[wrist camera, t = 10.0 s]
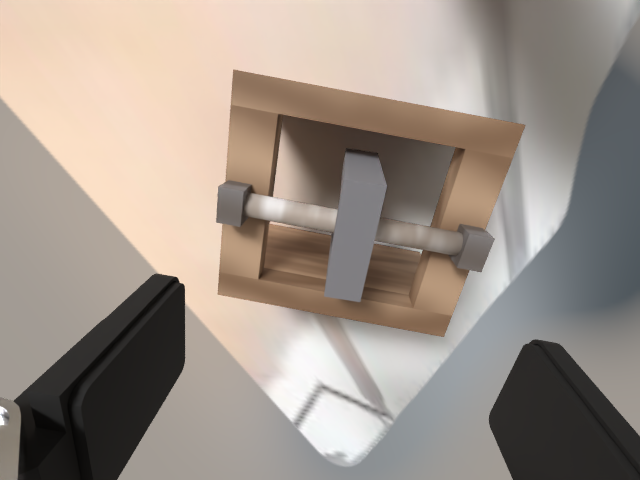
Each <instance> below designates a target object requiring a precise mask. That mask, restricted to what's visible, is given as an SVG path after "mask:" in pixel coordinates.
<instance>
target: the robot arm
mask: <svg viewBox="0 0 640 480" xmlns="http://www.w3.org/2000/svg"><path fill="white" fill-rule="evenodd" d="M184 363H185V286H184V284H182V283H179V280H178V278H177V277H173V276H167V275H162V274H154V275H152V276H151V277H150V278H149V279H148V280H147V281H146V282H145V283H144V284H142V285H141V286H140V287H139V288H138V289H137V290H136V291H135V292H134V293H133V294H132V295H130V296H129V297H128V298H127V299H126V300H125V301H124V302H123V303H122V304H121V305H120V306H118V307H117V308H116V309H115V310H114V311H113V312H112V313H111V314H110V315H109V316H108V317H107V318H105V319H104V320H102V321H101V322H100V323H99V324H98V325H96V326H95V327H94V328H93V329H92V330H91V331H90V332H89V333H88V334H87V335H85V336H84V337H83V338H82V339H81V340H80V341H79V342H78V343H77V344H76V345H74V346H73V347H72V348H71V349H70V350H69V351H68V352H67V353H66V354H65V355H63V356H62V357H61V358H60V359H59V360H58V361H57V362H56V363H55V364H54V365H52V366H51V367H50V368H49V369H48V370H47V371H46V372H45V373H44V374H43V375H42V376H40V377H39V378H38V379H37V380H36V381H35V382H34V383H33V384H32V385H31V386H29V387H28V388H27V389H26V390H25V391H24V392H23V393H22V394H21V395H20V396H19V397H17V398H16V399H15V400H14V401H12V400H8V399H4V398H0V480H117V479H118V477H119V475H120V474H121V472H122V471H123V469H124V467H125V466H126V464H127V462H128V460H129V459H130V457H131V455H132V454H133V452H134V451H135V449H136V447H137V446H138V444H139V442H140V441H141V439H142V437H143V436H144V434H145V432H146V431H147V429H148V427H149V426H150V424H151V422H152V421H153V419H154V417H155V416H156V414H157V412H158V411H159V409H160V407H161V406H162V404H163V402H164V401H165V399H166V397H167V396H168V394H169V392H170V391H171V389H172V387H173V386H174V384H175V382H176V381H177V379H178V377H179V375H180V374H181V372H182V370H183V367H184ZM489 424H490V428H491V430H492V432H493V435H494V437H495V439H496V441H497V444H498V446H499V448H500V451H501V453H502V455H503V458H504V460H505V462H506V464H507V467H508V469H509V471H510V474H511V476H512V478H513V480H640V436H639V435H638V434H637V433H636V431H635V430H634V429H633V428H632V427H631V426H630V425H629V423H628V422H627V421H626V420H625V419H624V418H623V416H622V415H621V414H620V413H619V412H618V411H617V410H616V409H615V407H614V406H613V405H612V404H611V403H610V401H609V400H608V399H607V398H606V397H605V396H604V394H603V393H602V392H601V391H600V390H599V389H598V387H596V385H595V384H594V383H593V382H592V381H591V379H590V378H589V377H588V376H587V375H586V374H585V372H584V371H583V370H582V369H581V368H580V367H579V365H577V364H576V362H575V361H574V360H573V358H571V356H570V355H569V354H568V353H567V352H566V350H565V349H564V348H563V347H562V346H561V345H560V344H557V343H553V342H548V341H542V340H532V341H531V342H530V343H529V344H525V345H524V346H523V348H522V350H521V351H520V353H519V355H518V358H517V360H516V362H515V364H514V366H513V368H512V370H511V372H510V374H509V376H508V378H507V380H506V382H505V384H504V386H503V388H502V390H501V392H500V394H499V396H498V398H497V400H496V402H495V404H494V406H493V408H492V410H491V412H490V415H489Z"/></svg>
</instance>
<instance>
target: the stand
mask: <svg viewBox="0 0 640 480" xmlns="http://www.w3.org/2000/svg"><path fill="white" fill-rule="evenodd" d="M283 115H288V116H293V117H299V118H304V119H309V120H314V121H320V122H325V123H330V124H336V125H341V126H346V127H351V128H357V129H362V130H367V131H373V132H378V133H383V134H388V135H394V136H399V137H404V138H410V139H415V140H420V141H425V142H431V143H436V144H441V145H447V146H452V147H456V148H455V151H454V154H453V157H452V160H451V163H450V166H449V170H448V173H447V176H446V179H445V182H444V185H443V188H442V192H441V195H440V198H439V201H438V204H437V207H436V210H435V214H434V217H433V220H432V223H431V226H430V227H429V226H423V225H418V224H413V223H407V222H402V221H397V220H392V219H386V218H381V217H380V219H379V223H378V228H377V232H376V236H375V241H379V242H385V243H390V244H395V245H401V246H406V247H411V248H417V249H422V250H423V251H422V254H420V252H416V251H411V250H405V249H400V248H395V247H390V246H384V245H379V244H374V245H373V249H372V253H371V258H370V262H369V266H368V271H367V275H366V279H365V283H364V288H363V292H362V296H361V301H360V302H355V301H349V300H343V299H337V298H330V297H324V292H325V283H326V275H327V267H328V259H329V250H330V242H331V235H326V234H320V233H315V232H310V231H305V230H299V229H294V228H289V227H283V226H278V225H273V224H269V223H270V221H273V222H279V223H284V224H289V225H295V226H300V227H305V228H310V229H316V230H321V231H326V232H332V233H334V229H335V223H336V217H337V211H338V209H333V208H328V207H323V206H317V205H312V204H307V203H301V202H296V201H291V200H285V199H280V198H275V197H273V191H274V183H275V175H276V167H277V159H278V151H279V143H280V135H281V127H282V119H283ZM524 128H525V125H523V124H518V123H513V122H507V121H502V120H497V119H491V118H486V117H481V116H476V115H470V114H465V113H460V112H454V111H449V110H444V109H439V108H433V107H428V106H423V105H418V104H412V103H407V102H402V101H396V100H391V99H386V98H381V97H375V96H370V95H365V94H359V93H354V92H349V91H344V90H338V89H333V88H328V87H323V86H317V85H312V84H307V83H301V82H296V81H291V80H286V79H280V78H275V77H270V76H264V75H259V74H254V73H249V72H243V71H238V70H233V81H232V95H231V110H230V124H229V139H228V153H227V168H226V182H225V183H223V184H222V185H220V186H219V187H218V202H217V218H216V222H217V223H222V224H223V225H222V240H221V254H220V269H219V283H218V295H223V296H228V297H234V298H239V299H244V300H250V301H255V302H260V303H266V304H271V305H276V306H282V307H287V308H292V309H298V310H303V311H308V312H313V313H319V314H324V315H329V316H335V317H340V318H345V319H351V320H356V321H361V322H367V323H372V324H377V325H383V326H388V327H393V328H399V329H404V330H409V331H415V332H420V333H425V334H431V335H436V336H441V337H444V335H445V332H446V330H447V327H448V325H449V322H450V319H451V317H452V314H453V312H454V309H455V306H456V304H457V301H458V299H459V296H460V293H461V291H462V288H463V286H464V283H465V280H466V278H467V275H468V273H469V270H472V271H477V272H482V269H483V267H484V264H485V262H486V259H487V257H488V254H489V252H490V249H491V247H492V244H493V242H494V238H493V237H492V236H491V235H490V234H489V233H488V232H487V231H485V229H486V226H487V223H488V221H489V218H490V216H491V213H492V210H493V208H494V205H495V203H496V200H497V198H498V195H499V192H500V190H501V187H502V185H503V182H504V179H505V177H506V174H507V172H508V169H509V166H510V164H511V161H512V159H513V156H514V153H515V151H516V148H517V146H518V143H519V140H520V138H521V135H522V133H523V130H524Z"/></svg>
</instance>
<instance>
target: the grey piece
mask: <svg viewBox="0 0 640 480" xmlns="http://www.w3.org/2000/svg"><path fill="white" fill-rule="evenodd" d="M386 189H387V184H386V181H385V177H384V174H383V170H382V167H381V163H380V160H379V157H378V153H375V152H368V151H362V150H355V149H348V148H346V151H345V157H344V163H343V171H342V182H341V193H340V199H339V205H338V211H337V217H336V223H335V229H334V233H332V236H331V242H330V250H329V259H328V267H327V275H326V283H325V292H324V297H330V298H337V299H343V300H349V301H355V302H360V301H361V296H362V292H363V288H364V283H365V279H366V275H367V271H368V266H369V262H370V258H371V253H372V249H373V245H374V241H375V236H376V232H377V228H378V223H379V219H380V215H381V211H382V206H383V202H384V198H385V193H386Z"/></svg>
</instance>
